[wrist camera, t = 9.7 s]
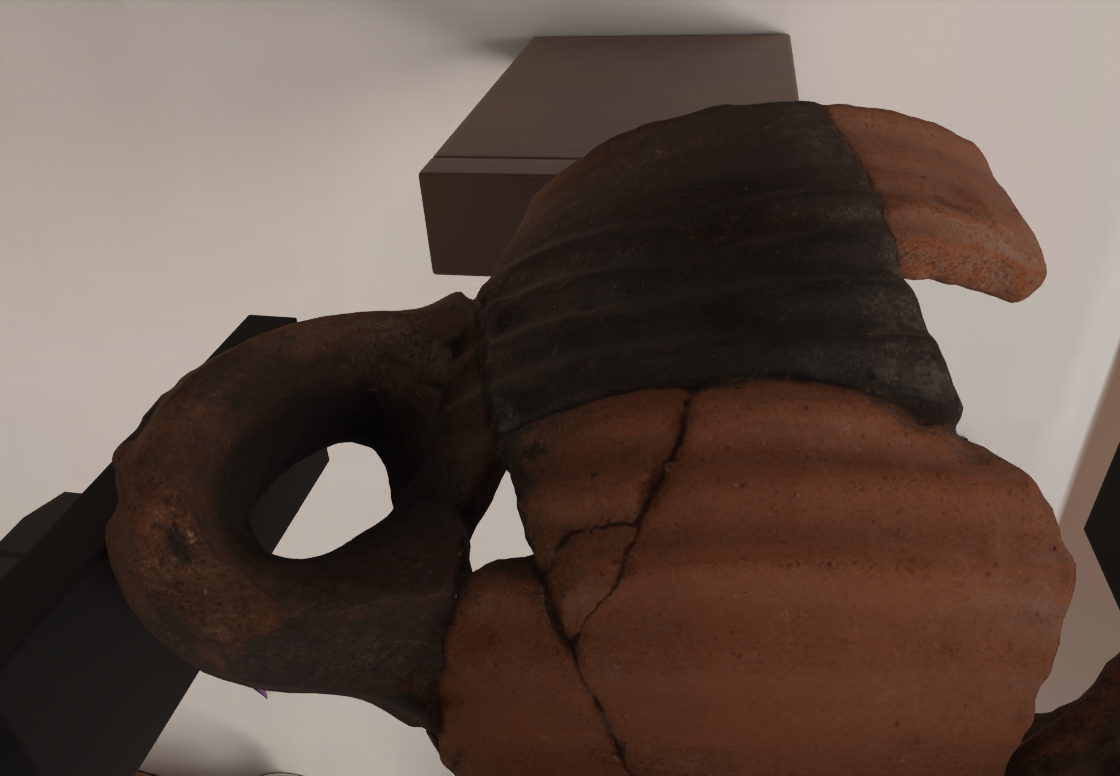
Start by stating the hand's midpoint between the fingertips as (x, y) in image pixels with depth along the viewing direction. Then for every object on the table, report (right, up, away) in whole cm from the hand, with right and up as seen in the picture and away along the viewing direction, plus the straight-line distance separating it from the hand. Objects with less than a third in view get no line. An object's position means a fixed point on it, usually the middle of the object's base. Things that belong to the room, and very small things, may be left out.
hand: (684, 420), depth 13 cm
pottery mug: (0, 0, 0) cm, 1 cm away
